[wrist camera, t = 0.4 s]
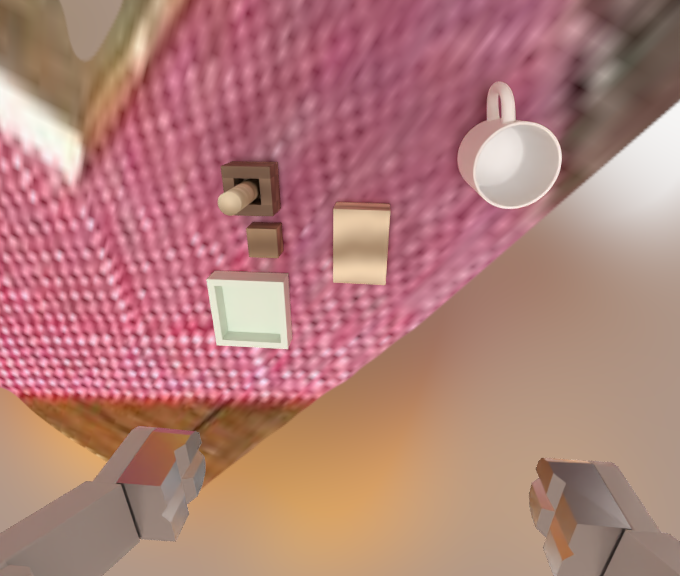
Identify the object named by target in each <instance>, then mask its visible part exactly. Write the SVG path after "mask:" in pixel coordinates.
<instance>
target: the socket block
mask: <svg viewBox="0 0 680 576" xmlns="http://www.w3.org/2000/svg"><path fill="white" fill-rule="evenodd" d="M221 172H222V180H223V188H224V193H225V192H226V191H228V190H230V189H232V188H233V187H235V186H237V185H238V184H240V183H242V182H244V181H245V180H247V179H249V178H251V179H259V184H260V196H259V197H257V198H256V199H255V200H254V201H252V202H251V203H250V204H248V205H247V206H246V207H244V208H243V209H242V210H241V211H239V212H238V213H237V214H235V215H243V216H274V215H275V214H276V213H277V212H278V211H279V210H280V209H281V207H280V192H279V177H278V162H230V163H227V164H225V165H222V166H221Z"/></svg>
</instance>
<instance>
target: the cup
mask: <svg viewBox="0 0 680 576" xmlns="http://www.w3.org/2000/svg"><path fill="white" fill-rule="evenodd" d="M498 96H500V100H501V118H500V117H499V108H498ZM561 162H562V153H561V148H560V145H559V142H558V140H557V138H556V137H555V136H554V134H553V133H552V132H551V131H550V130H549V129H547V128H546V127H544V126H542V125H540V124H538V123H534V122H528V121H521V120H516V114H515V102H514V96H513V93H512V90H511V89H510V87H509V86H508V85H507V84H506V83H504V82H496V83H494V84H493V85H492V86H491V87H490V89H489V92H488V96H487V120H486V121H483V122H481V123H479V124H477V125H476V126H474V127H473V128H472V129H471V130H470V131H469V132H468V133H467V134H466V135H465V137H464V138H463V140H462V142H461V144H460V147H459V150H458V156H457V163H458V168H459V171H460V174H461V176H462V177H463V179H464V180H465V181H466V182H467V183H468V184H469V185H470V186H471V187H472V188H473V189H474V190H475V191H476V192H477V193H478V194H479V195H480V196H481V197H482V198H483V199H484V200H485V201H487V202H488V203H490V204H491V205H493V206H496V207H499V208H504V209H516V208H521V207H525V206H527V205H530V204H532V203H534V202H536V201H537V200H539V199H540V198H541V197H543V196H544V195H545V194H546V193H547V192H548V191H549V190H550V188H551V187H552V186H553V184H554V183H555V181H556V179H557V177H558V175H559V172H560V168H561Z"/></svg>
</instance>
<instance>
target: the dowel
mask: <svg viewBox="0 0 680 576" xmlns="http://www.w3.org/2000/svg"><path fill="white" fill-rule="evenodd" d="M259 196H260V184H259V179H251V178H249V179H247V180H245V181H244V182H242V183H240V184H238V185H237V186H235V187H233V188H232V189H230V190H228V191H226V192H225V193H223V194H221V195H220V197H219V198H218V207H219V209H220V210H221V211H222V212H223V213H224V214H226V215H230V216H231V215H235V214H237V213H238V212H239V211H241V210H242V209H243V208H244V207H246V206H247V205H248V204H250V203H251V202H252V201H254V200H255V199H256V198H257V197H259Z"/></svg>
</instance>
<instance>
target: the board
mask: <svg viewBox="0 0 680 576" xmlns="http://www.w3.org/2000/svg"><path fill="white" fill-rule="evenodd" d="M389 224H390V204H383V203H354V202H336V204H335V206H334V209H333V282H335V283H355V284H375V285H385V283H386V268H387V253H388V238H389Z"/></svg>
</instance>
